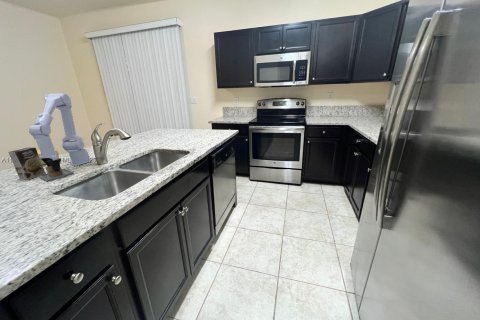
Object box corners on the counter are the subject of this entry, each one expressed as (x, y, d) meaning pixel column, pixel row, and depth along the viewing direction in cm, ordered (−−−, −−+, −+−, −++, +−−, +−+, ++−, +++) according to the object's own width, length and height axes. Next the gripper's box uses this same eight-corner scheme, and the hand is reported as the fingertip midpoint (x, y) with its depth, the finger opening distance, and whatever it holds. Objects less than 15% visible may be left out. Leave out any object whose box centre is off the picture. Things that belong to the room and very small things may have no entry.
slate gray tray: (65, 170, 122) (64, 168, 121) (74, 173, 116) (73, 171, 115) (39, 177, 112) (38, 175, 112) (47, 182, 106) (46, 179, 106)
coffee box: (28, 180, 110) (16, 152, 104) (19, 179, 111) (7, 151, 106) (46, 173, 118) (36, 147, 113) (38, 173, 119) (27, 147, 114)
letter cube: (59, 172, 117) (56, 164, 115) (63, 173, 114) (60, 165, 113) (48, 175, 113) (45, 167, 111) (51, 177, 110) (48, 168, 109)
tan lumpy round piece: (41, 167, 130) (35, 151, 126) (35, 164, 136) (29, 149, 132) (63, 161, 139) (58, 146, 135) (56, 159, 145) (51, 144, 141)
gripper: (31, 147, 109) (41, 170, 113) (41, 150, 102) (50, 175, 106) (48, 144, 115) (56, 166, 119) (58, 146, 107) (66, 170, 112)
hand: (55, 170), depth 113 cm, fingers open, 7 cm apart
